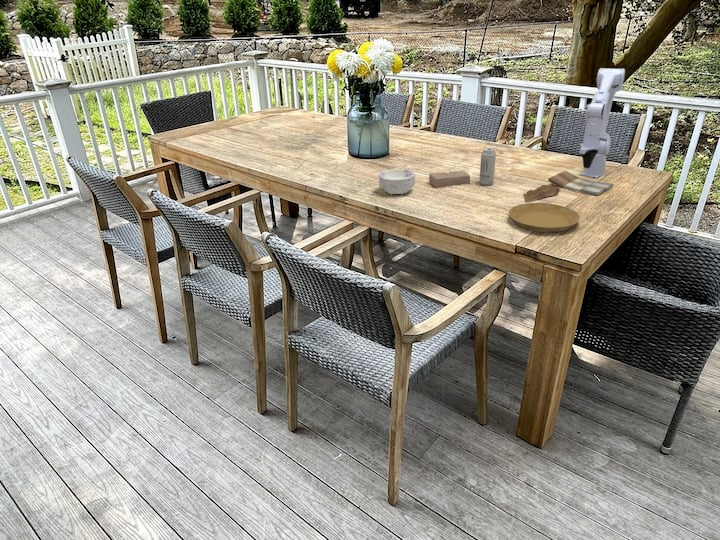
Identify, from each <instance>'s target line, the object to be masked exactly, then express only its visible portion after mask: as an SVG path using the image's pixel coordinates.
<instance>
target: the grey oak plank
mask: <svg viewBox="0 0 720 540" xmlns="http://www.w3.org/2000/svg"><path fill="white" fill-rule="evenodd" d="M613 186H614V183H612V182H606V181H604V182H603V181H596V180H595V182H594V183H592V184H590V185H588V186H587V187H585V188H583V189H581V191H580V192H582V193H581V194H585V195H586V194H588V195H593V196H599V195H600V194H602V193H604V192H606V191H607V190H610V189H611V188H613ZM580 192H579V193H580Z"/></svg>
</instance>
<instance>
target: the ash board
mask: <svg viewBox="0 0 720 540" xmlns="http://www.w3.org/2000/svg"><path fill="white" fill-rule="evenodd" d="M594 182H596V180H592V179H588V178H582V177H579V178H578V179H576V180H574V181H572V182H570V183H568V184H566V185H564V186H563V188H562V189H564V190H567V189H568V191H571V190H572V191H571V192H576V191H577V192H576V193H580V191H581V189H583V188H585V187H587V186H588V185H590V184H592V183H594Z"/></svg>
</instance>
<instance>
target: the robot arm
mask: <svg viewBox="0 0 720 540" xmlns="http://www.w3.org/2000/svg"><path fill="white" fill-rule="evenodd" d="M625 75H626V69H625V68H603V67H600V68H599V69H598V72H597V76H596V87H597V91H596V92H595V93H594V96H593V98H592V100H591V102H590V103H588V105H587V108H586V113H585V116H586V117H585V123H586V124H585V130H584V136H583V141H582V142H581V143H580V144H579V146H580V148H579V153H578V154H580V155H581V157H582V165H583V171H582V172H580V173H578V174H579V176H584V175H585V177H588V176H589V177H590V178H593V177H595V179H598V178H599V176H600V177H601V175H602V176H604V175H605V174H607V172H606V170H605V168H606V162H607V157H606V156H607V155H608V154H609V152H610V149H611V140H612V138H611V136H610V134H608V133H607V128H608V127H607V126H608V124H609V123H608V122H609V118H610V113H611V109H612V105H613V100H614V98H615V95H616V93H617V92H620V91H621V90H622V89H623V84H624V80H625ZM603 174H604V175H603Z"/></svg>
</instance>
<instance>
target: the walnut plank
mask: <svg viewBox="0 0 720 540" xmlns="http://www.w3.org/2000/svg"><path fill="white" fill-rule="evenodd" d="M578 178H580V177H579V176H577V175H575V174H572V173H571V172H569V171H567V170H564V171H561V172H559V173H558V174H556V175H553V176H550V177H548V180H547V181H548V182H549V183H551V184H552V185H557V186H559V187H560V189H563V186H564V185H566V184H568V183H570V182H572V181H574V180H576V179H578Z"/></svg>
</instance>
